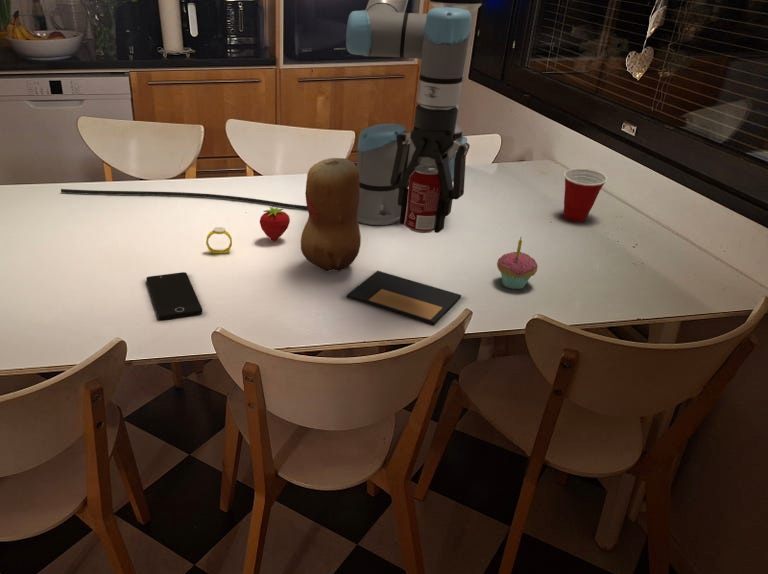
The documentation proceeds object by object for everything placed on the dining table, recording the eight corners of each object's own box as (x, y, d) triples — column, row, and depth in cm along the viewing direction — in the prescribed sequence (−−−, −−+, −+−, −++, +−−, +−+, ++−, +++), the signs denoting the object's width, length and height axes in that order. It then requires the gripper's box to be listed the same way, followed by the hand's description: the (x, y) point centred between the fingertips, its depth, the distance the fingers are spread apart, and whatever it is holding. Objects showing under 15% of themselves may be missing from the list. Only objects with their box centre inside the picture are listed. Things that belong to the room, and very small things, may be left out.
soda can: (438, 236, 132) (446, 175, 125) (402, 233, 133) (409, 172, 126) (438, 223, 137) (447, 164, 131) (404, 220, 138) (411, 161, 132)
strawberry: (293, 244, 167) (293, 205, 162) (263, 248, 165) (263, 208, 160) (285, 235, 172) (285, 196, 166) (256, 238, 170) (256, 200, 164)
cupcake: (526, 296, 146) (538, 245, 140) (487, 286, 150) (498, 235, 143) (537, 281, 152) (549, 231, 146) (499, 272, 156) (510, 222, 149)
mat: (346, 297, 145) (346, 294, 144) (377, 273, 155) (377, 270, 154) (433, 325, 136) (434, 321, 135) (460, 298, 145) (461, 294, 145)
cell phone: (159, 320, 136) (158, 316, 135) (146, 280, 150) (145, 276, 149) (203, 313, 138) (202, 309, 137) (186, 275, 152) (185, 271, 152)
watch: (206, 255, 161) (205, 231, 158) (206, 250, 163) (205, 227, 160) (232, 254, 162) (231, 231, 158) (231, 249, 164) (231, 226, 161)
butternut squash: (291, 261, 159) (293, 154, 145) (342, 252, 164) (349, 147, 150) (316, 286, 149) (321, 174, 135) (370, 276, 153) (380, 166, 139)
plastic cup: (552, 222, 182) (562, 178, 175) (555, 208, 190) (565, 165, 183) (595, 228, 178) (608, 183, 172) (596, 214, 187) (608, 171, 180)
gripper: (378, 101, 124) (368, 220, 137) (482, 118, 115) (461, 244, 128) (396, 93, 129) (385, 209, 142) (497, 109, 120) (475, 231, 133)
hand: (421, 225), depth 135 cm, fingers closed on soda can, 7 cm apart
